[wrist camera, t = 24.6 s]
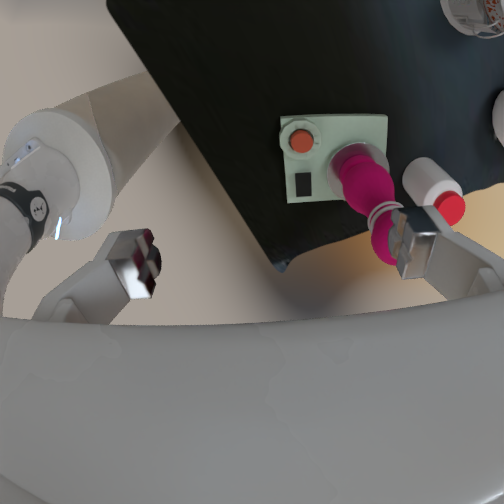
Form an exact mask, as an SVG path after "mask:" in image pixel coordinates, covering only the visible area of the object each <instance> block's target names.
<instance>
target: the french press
mask: <svg viewBox="0 0 504 504" xmlns="http://www.w3.org/2000/svg"><path fill="white" fill-rule="evenodd" d="M440 3H441V6H442V9H443V12H444V14H445V16H446V18H447V19H448V21H449V22H450V24H451V25H452V26H454V27H455V28H456V29H457V30H458V31H459V32H461V33H464V34H466V35H475V36H477V37H479V38H488V39H489V38H494V37H497V36H501V35H502V34H504V0H440ZM486 14H487V15H488V18H489V25H487V18H486ZM492 23H493V24H492ZM493 25H494V29H493V30H491V29H492V26H493ZM496 29H498V31H497V32H494V31H495V30H496ZM481 31H483V32H490V33H496V34H498V35H494V36H490V37H482V36H478V35H476V34H478V33H479V32H481ZM500 31H501V32H502V33H499V32H500Z"/></svg>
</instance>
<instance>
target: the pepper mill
mask: <svg viewBox="0 0 504 504" xmlns="http://www.w3.org/2000/svg"><path fill="white" fill-rule="evenodd" d="M340 181H341V183H342V185H343V194H344V197H345V199H346V201H347V202H348V204H349V205H350V206H351V207H352V208H353V209H355V210H356V211H357V212H359V213H362V214H364V215H366V216H367V218H368V228H369V230H370V232H371V234H372V236H371V243H372V246H373V250H374V251H375V253H376V254H377V256H378V257H379V258H380V259H381V260H382V261H383V262H385V263H387V264H390V265H395V266H396V263H397V260H396V259H394V258H393V257H392V256H391V254H390V252H389V248H388V231H389V229H390V228H391V227H392V225H393V222H392V220H391V213H392V210H393V208H401V207H403V206H402V205H401V204H400V203H398V202H395V198H394V185H393V181H392V178H391V177H390V175H389V173H388V172H387V170H386V169H385V168H384V167H382V166H381V165H379V164H377V163H376V162H375V161H374V160H373V159H372V158H370V157H368V156H364V155H357V156H354V157H351V158H350V159H348V160H347V161H346V162H345V163H344V164H343V166H342V168H341V170H340Z"/></svg>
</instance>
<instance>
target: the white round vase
mask: <svg viewBox="0 0 504 504" xmlns="http://www.w3.org/2000/svg"><path fill="white" fill-rule="evenodd" d="M492 124H493V127H494V131H495V134H496V136H497V138H498V139H499V141H500V142H501V144H502V145H503V147H504V90H503V91H501V92H500V94H499V95H498V97H497V99H496V100H495V104H494V108H493V111H492Z"/></svg>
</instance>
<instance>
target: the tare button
mask: <svg viewBox="0 0 504 504" xmlns="http://www.w3.org/2000/svg"><path fill="white" fill-rule="evenodd" d="M290 142H291V145H292V148H293V149H294V150H295V151H296V152H298V153H306V152H308V151H309V150H310V149H311V148H312V146H313V140H312V137H311V135H310V134H309V133H308V132H307V131H304V130H297V131H295V132H294V133H293V134H292V135H291V138H290Z"/></svg>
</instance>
